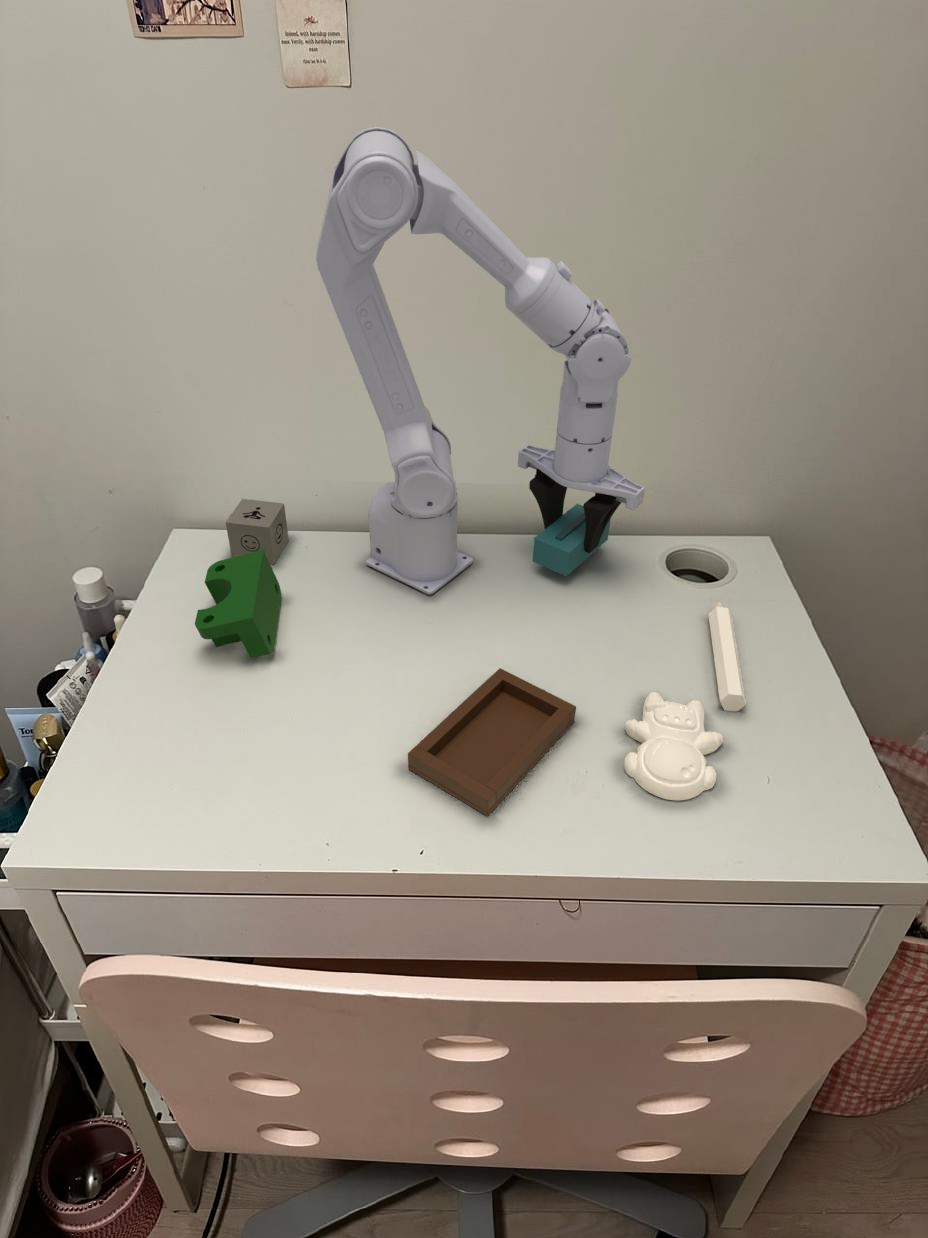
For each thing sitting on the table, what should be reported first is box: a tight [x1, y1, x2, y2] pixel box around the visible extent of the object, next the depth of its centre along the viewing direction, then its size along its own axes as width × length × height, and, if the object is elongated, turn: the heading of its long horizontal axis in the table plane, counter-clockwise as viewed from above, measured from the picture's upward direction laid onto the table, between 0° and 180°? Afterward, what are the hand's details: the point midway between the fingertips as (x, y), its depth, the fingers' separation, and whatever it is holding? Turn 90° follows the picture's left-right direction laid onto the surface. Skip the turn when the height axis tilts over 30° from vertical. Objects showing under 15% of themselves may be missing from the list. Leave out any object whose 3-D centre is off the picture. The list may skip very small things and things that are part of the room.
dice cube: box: [225, 498, 290, 565], centre depth 106 cm, size 5×5×5 cm
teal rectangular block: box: [531, 503, 612, 577], centre depth 104 cm, size 9×4×4 cm, turn 143°
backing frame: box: [407, 668, 577, 817], centre depth 83 cm, size 14×9×2 cm, turn 143°
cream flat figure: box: [623, 691, 724, 801], centre depth 83 cm, size 9×12×3 cm
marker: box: [708, 599, 747, 712], centre depth 93 cm, size 3×2×16 cm
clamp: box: [194, 550, 282, 659], centre depth 94 cm, size 12×6×9 cm, turn 178°
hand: (572, 540), depth 104 cm, fingers closed on teal rectangular block, 4 cm apart
